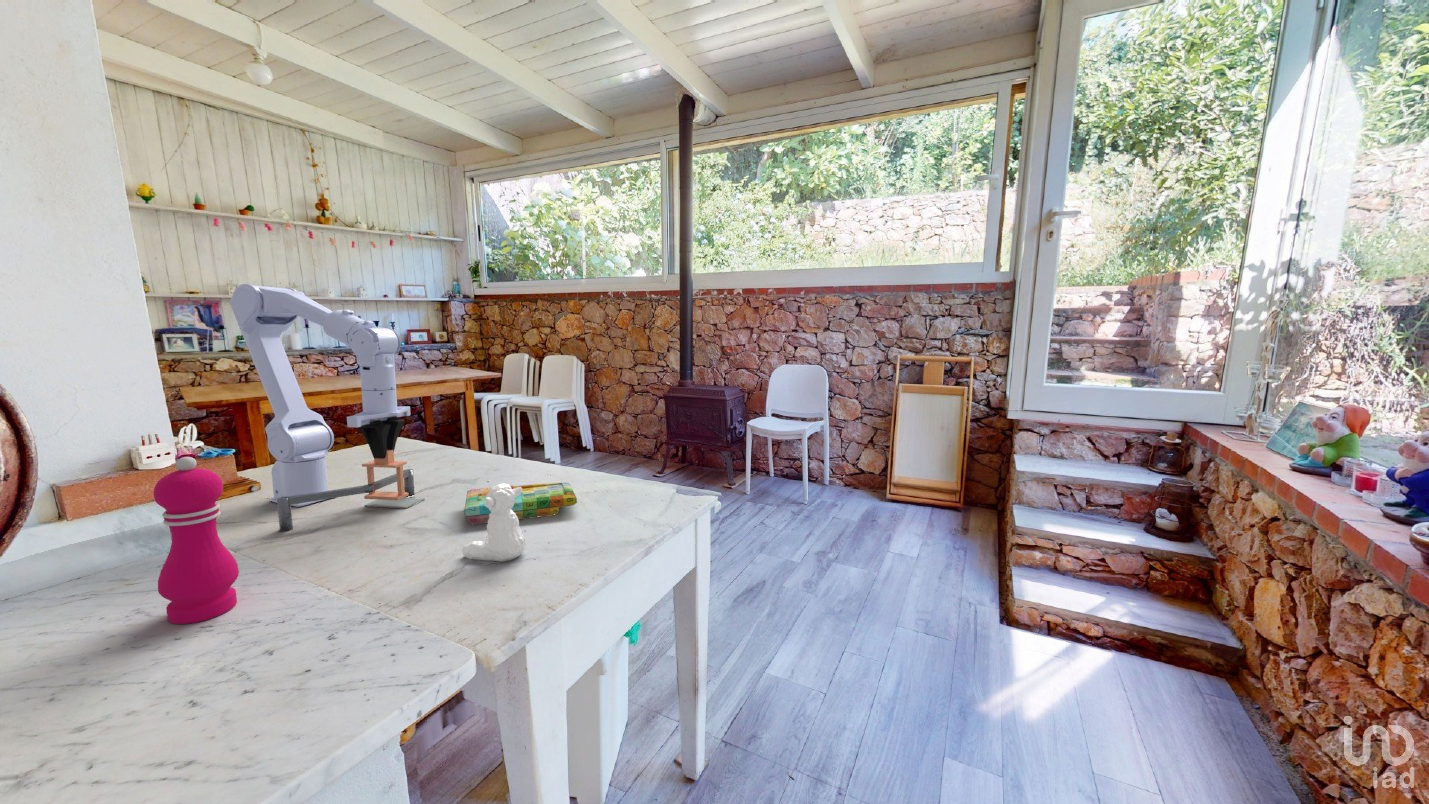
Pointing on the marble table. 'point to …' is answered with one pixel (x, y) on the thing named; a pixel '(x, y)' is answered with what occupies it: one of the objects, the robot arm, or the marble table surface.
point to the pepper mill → (194, 546)
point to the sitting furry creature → (499, 528)
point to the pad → (394, 503)
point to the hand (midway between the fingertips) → (383, 456)
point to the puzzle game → (523, 501)
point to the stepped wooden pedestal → (386, 463)
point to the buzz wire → (286, 502)
